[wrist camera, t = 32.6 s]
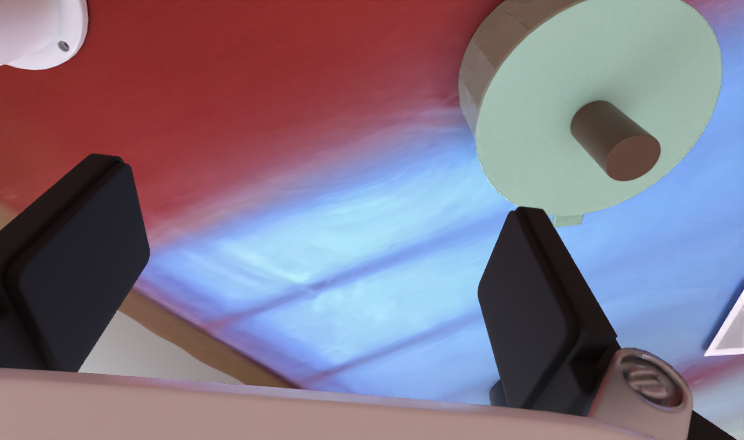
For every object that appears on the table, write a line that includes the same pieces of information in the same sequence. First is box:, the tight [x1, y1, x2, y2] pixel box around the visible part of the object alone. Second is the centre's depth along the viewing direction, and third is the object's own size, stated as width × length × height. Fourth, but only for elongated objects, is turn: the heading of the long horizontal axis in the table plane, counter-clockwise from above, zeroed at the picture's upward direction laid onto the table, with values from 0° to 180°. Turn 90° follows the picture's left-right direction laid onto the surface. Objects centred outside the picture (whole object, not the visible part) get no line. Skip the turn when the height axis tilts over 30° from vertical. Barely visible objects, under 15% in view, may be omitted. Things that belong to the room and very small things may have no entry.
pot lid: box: [474, 0, 722, 216], centre depth 28 cm, size 17×17×7 cm
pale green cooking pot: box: [458, 0, 583, 227], centre depth 34 cm, size 16×21×10 cm
